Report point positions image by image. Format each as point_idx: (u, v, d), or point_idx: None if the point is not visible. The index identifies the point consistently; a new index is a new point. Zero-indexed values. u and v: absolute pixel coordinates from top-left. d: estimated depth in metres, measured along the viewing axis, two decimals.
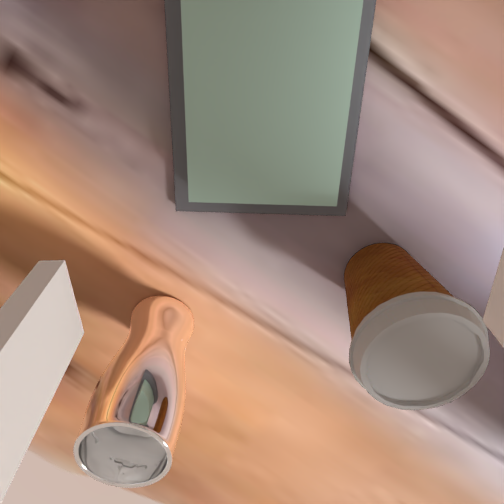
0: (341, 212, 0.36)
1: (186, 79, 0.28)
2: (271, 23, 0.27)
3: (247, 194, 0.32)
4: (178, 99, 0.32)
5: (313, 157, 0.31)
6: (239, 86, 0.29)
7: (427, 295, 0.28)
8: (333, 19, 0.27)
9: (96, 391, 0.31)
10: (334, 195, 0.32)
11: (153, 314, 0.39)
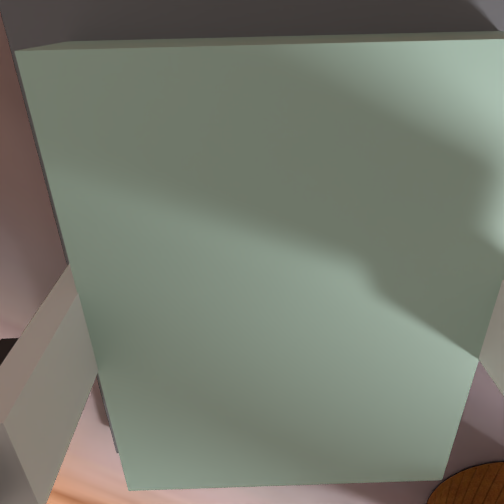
0: None
1: (82, 287, 0.11)
2: (296, 150, 0.10)
3: (253, 473, 0.15)
4: None
5: (398, 410, 0.14)
6: (218, 294, 0.11)
7: None
8: (471, 132, 0.09)
9: None
10: (438, 464, 0.15)
11: None
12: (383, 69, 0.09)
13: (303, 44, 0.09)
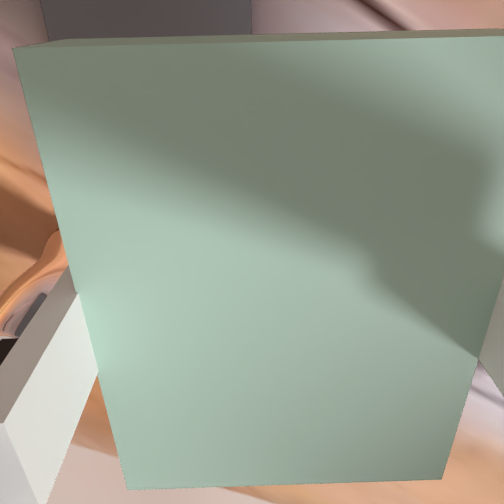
0: None
1: (81, 286, 0.11)
2: (295, 148, 0.09)
3: (252, 472, 0.15)
4: None
5: (397, 409, 0.14)
6: (217, 293, 0.11)
7: None
8: (471, 129, 0.09)
9: None
10: (437, 463, 0.15)
11: (62, 242, 0.36)
12: (382, 66, 0.09)
13: (302, 41, 0.09)
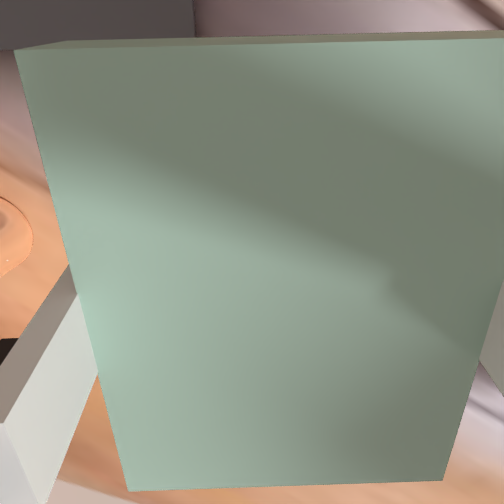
0: None
1: (81, 287, 0.11)
2: (296, 149, 0.09)
3: (253, 473, 0.15)
4: None
5: (398, 410, 0.14)
6: (219, 294, 0.11)
7: None
8: (472, 131, 0.09)
9: None
10: (438, 465, 0.15)
11: None
12: (383, 68, 0.09)
13: (303, 43, 0.09)
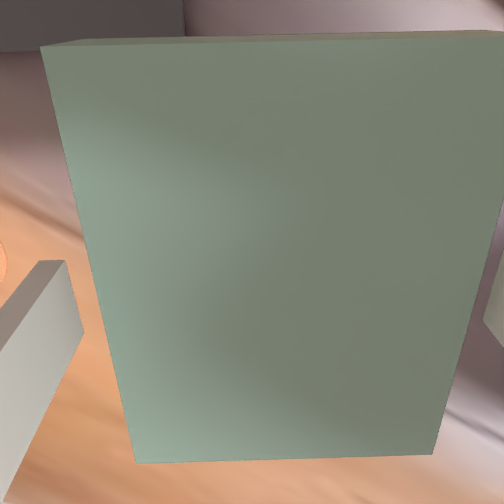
0: None
1: (96, 266, 0.12)
2: (294, 138, 0.10)
3: (253, 447, 0.16)
4: None
5: (390, 385, 0.14)
6: (222, 273, 0.12)
7: None
8: (454, 121, 0.10)
9: None
10: (428, 439, 0.16)
11: None
12: (373, 64, 0.10)
13: (300, 41, 0.09)
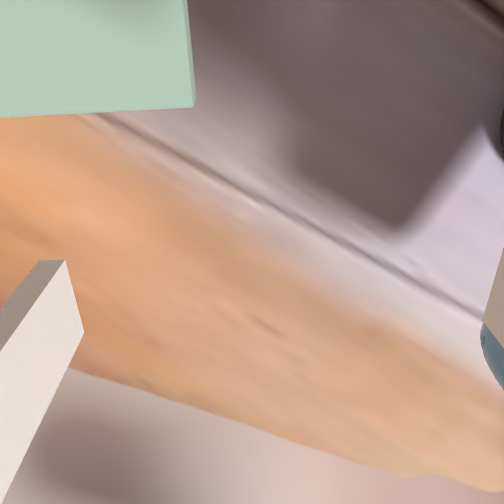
0: None
1: None
2: None
3: (69, 99, 0.24)
4: None
5: (145, 36, 0.22)
6: None
7: None
8: None
9: None
10: (186, 91, 0.24)
11: None
12: None
13: None
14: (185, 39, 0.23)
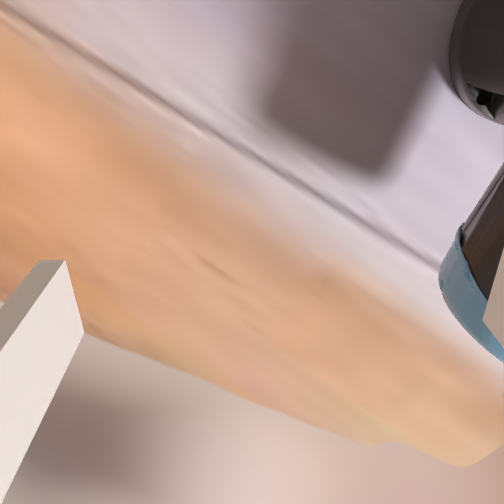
0: None
1: None
2: None
3: None
4: None
5: None
6: None
7: None
8: None
9: None
10: None
11: None
12: None
13: None
14: None
